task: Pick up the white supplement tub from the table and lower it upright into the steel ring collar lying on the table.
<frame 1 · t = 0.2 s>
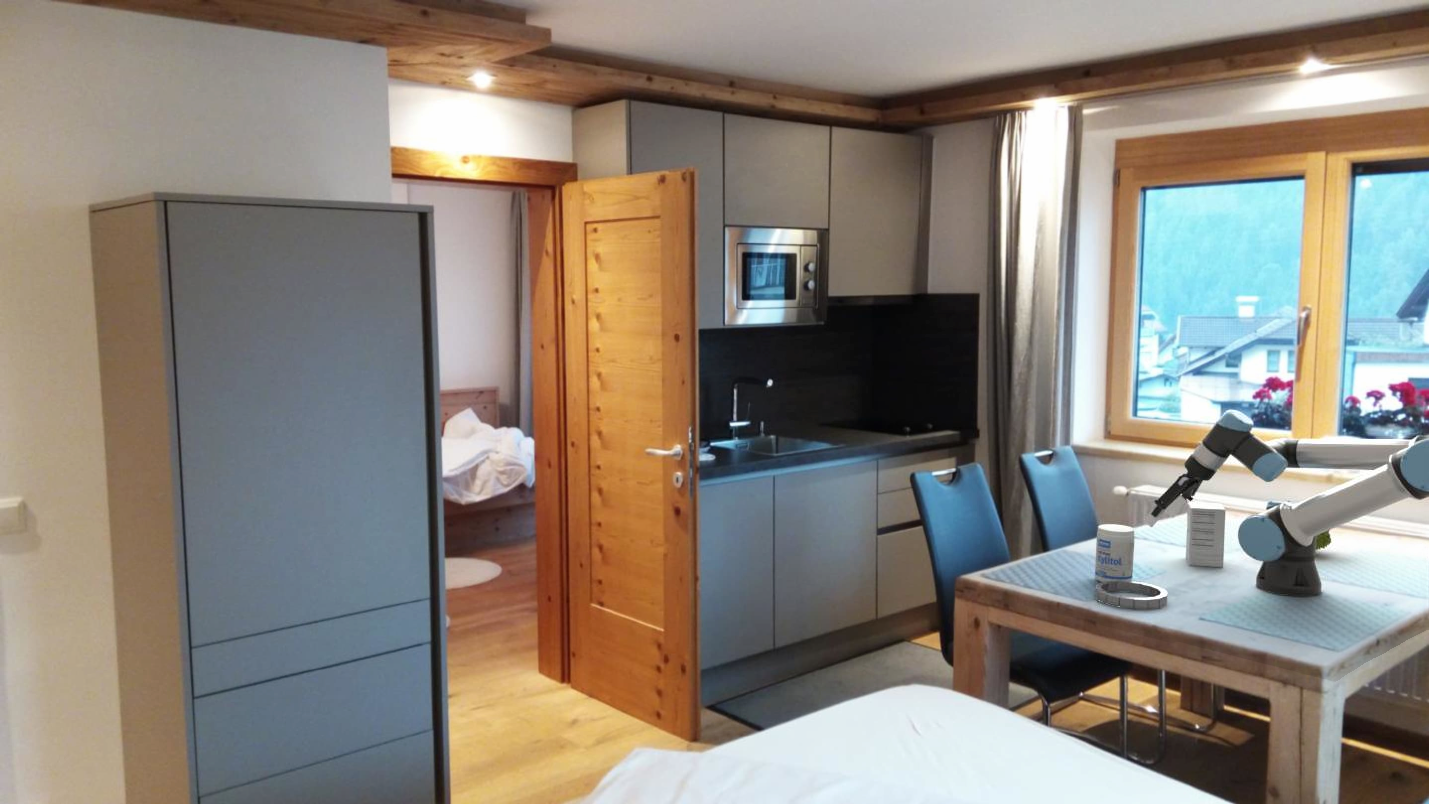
hand: (1158, 519, 288), 16 cm above the table, tool tilted 35°, fingers open, 13 cm apart
collar: (1130, 599, 268), on the table
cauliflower: (1294, 553, 315), on the table
supplement box: (1204, 563, 304), on the table
supplement tub: (1113, 581, 286), on the table
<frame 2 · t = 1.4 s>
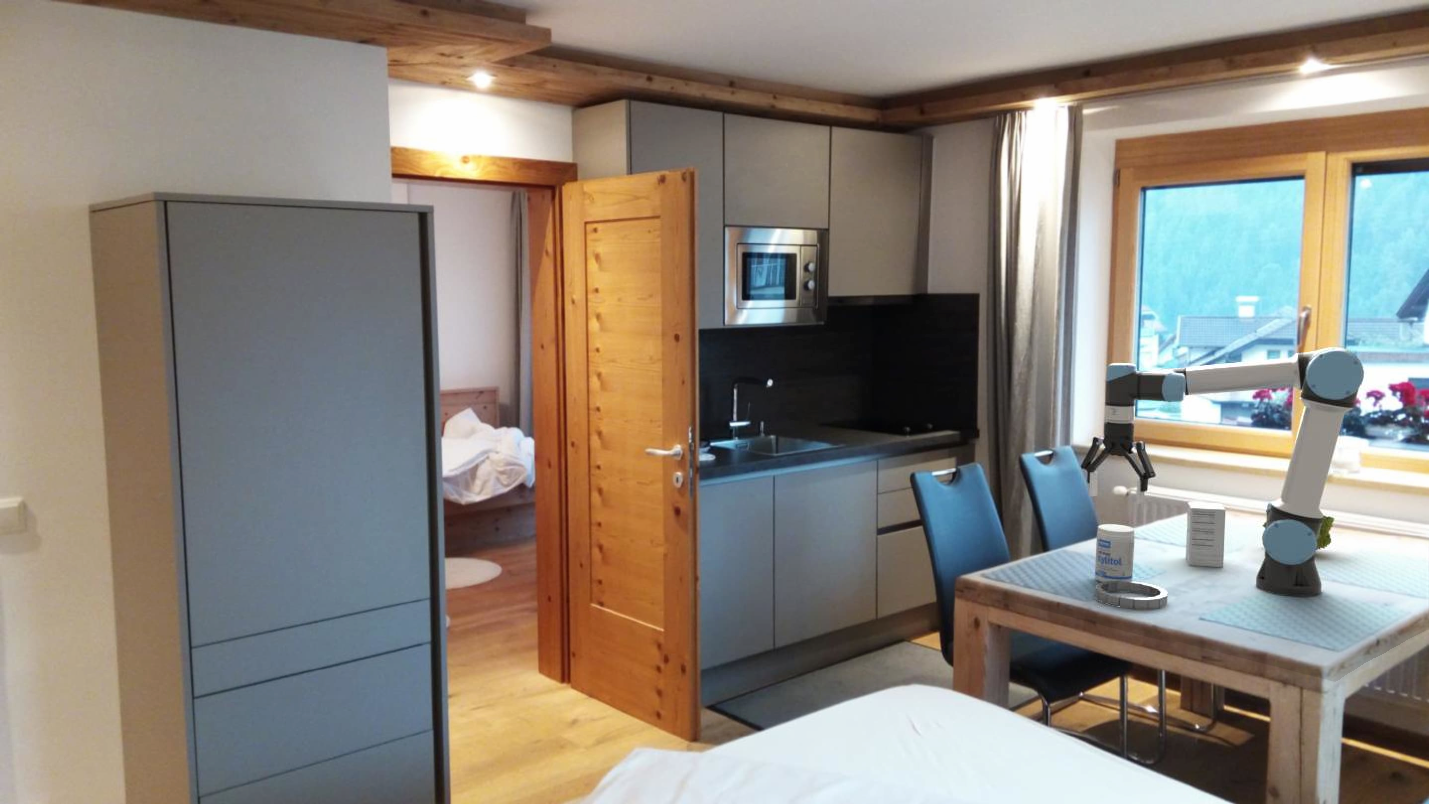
hand: (1116, 499, 283), 22 cm above the table, tool pointing down, fingers open, 13 cm apart
nothing on the table moved.
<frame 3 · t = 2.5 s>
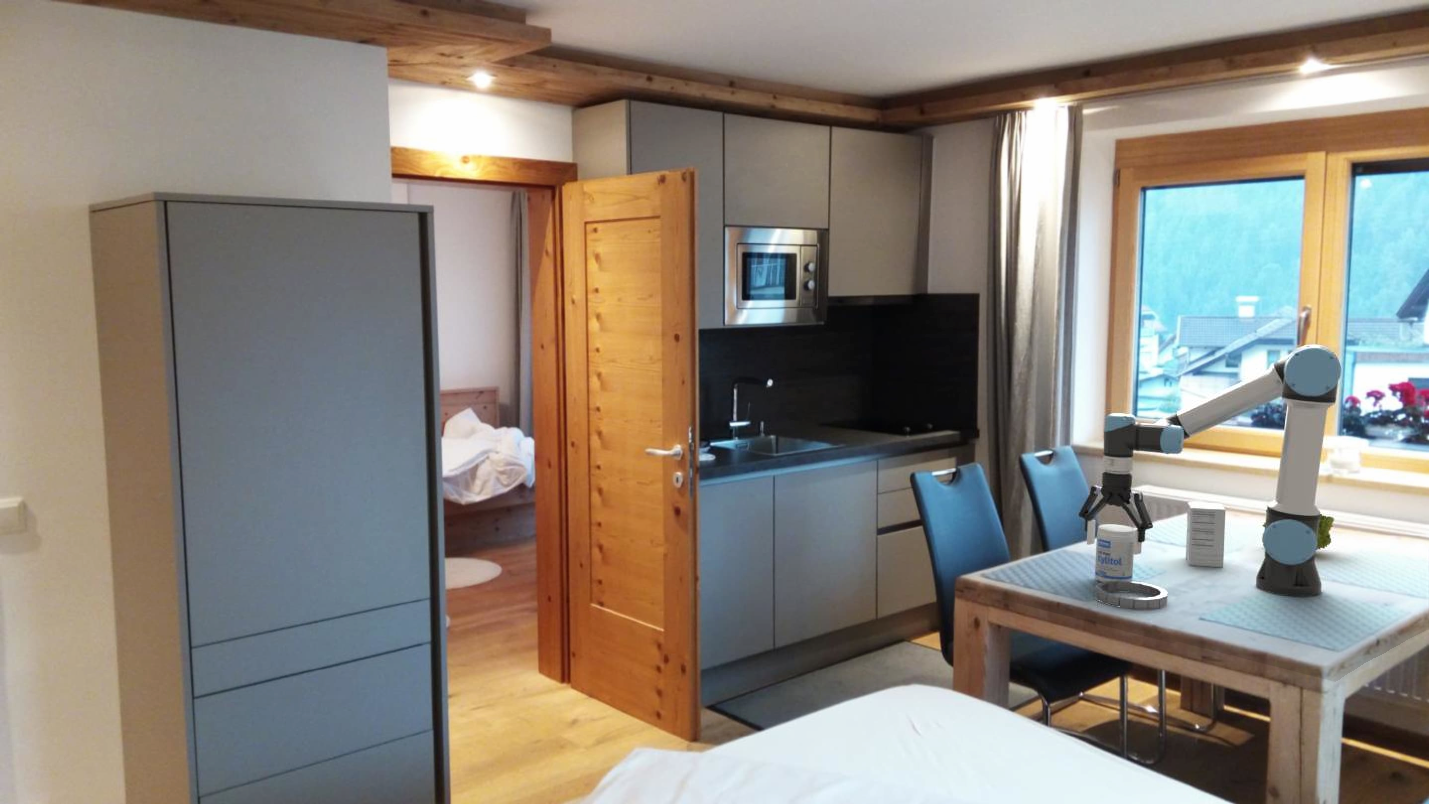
hand: (1113, 548, 285), 9 cm above the table, tool pointing down, fingers open, 13 cm apart
nothing on the table moved.
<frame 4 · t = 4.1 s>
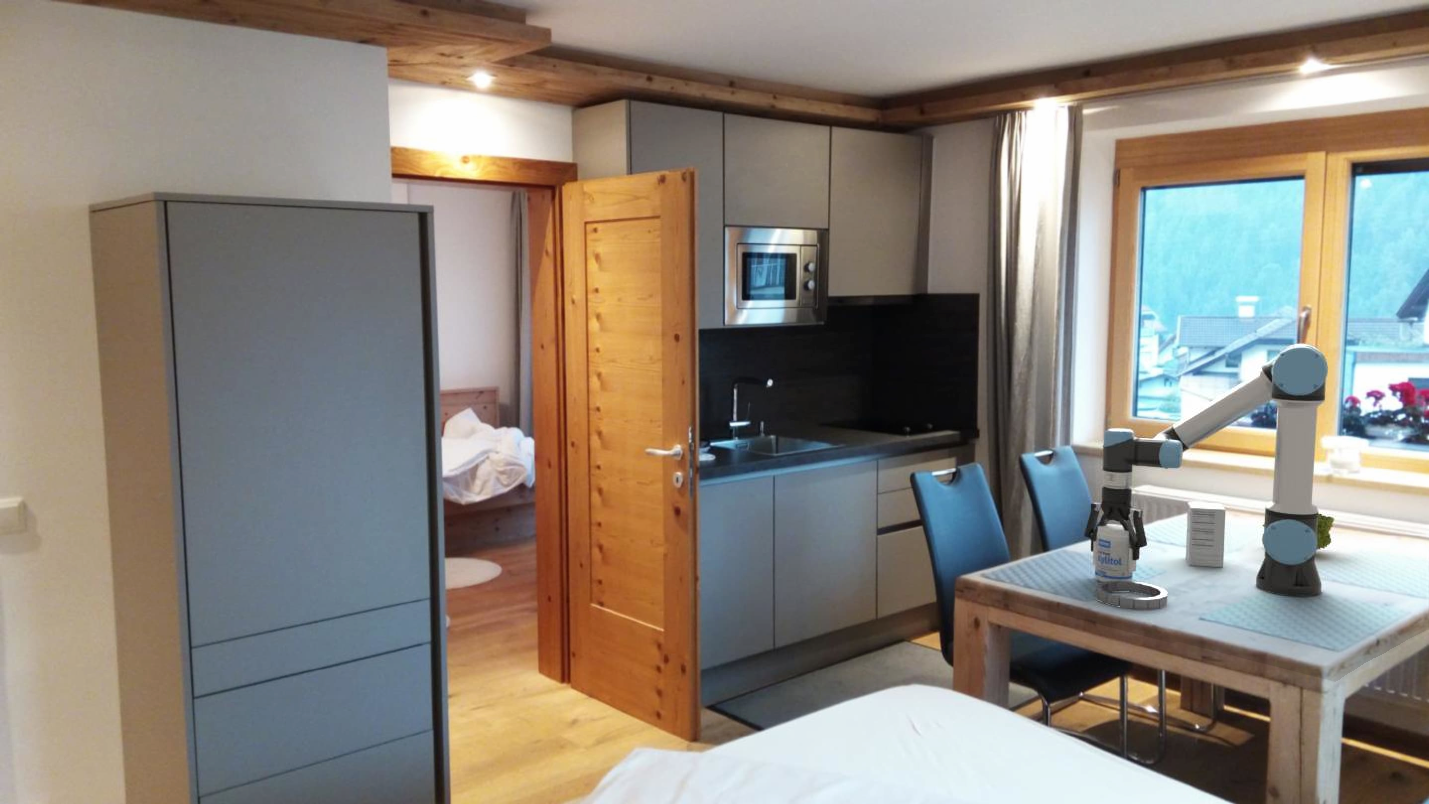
hand: (1114, 567, 285), 4 cm above the table, tool pointing down, fingers closed on supplement tub, 10 cm apart
supplement tub: (1113, 581, 286), on the table, touching gripper
everything else where it was.
when the fingers open (5 cm above the table, at t = 10.6 s): supplement tub drops 1 cm, resting in collar.
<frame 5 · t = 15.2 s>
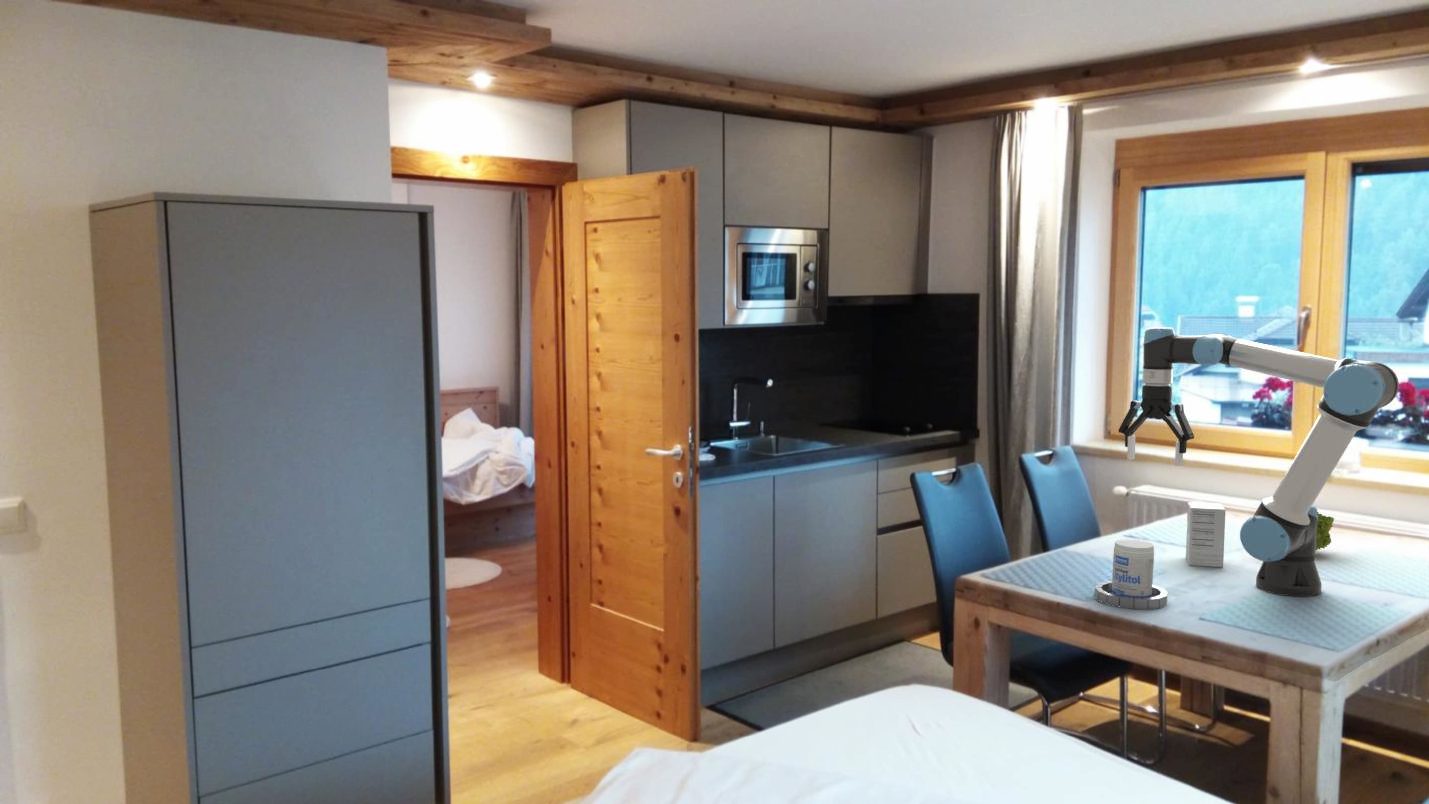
hand: (1154, 462, 287), 32 cm above the table, tool pointing down, fingers open, 13 cm apart
supplement tub: (1131, 600, 268), resting in collar
everything else where it was.
at the end: supplement tub 0.3 cm from the collar (horizontally); supplement tub tilted 0°; supplement tub resting in collar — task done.
